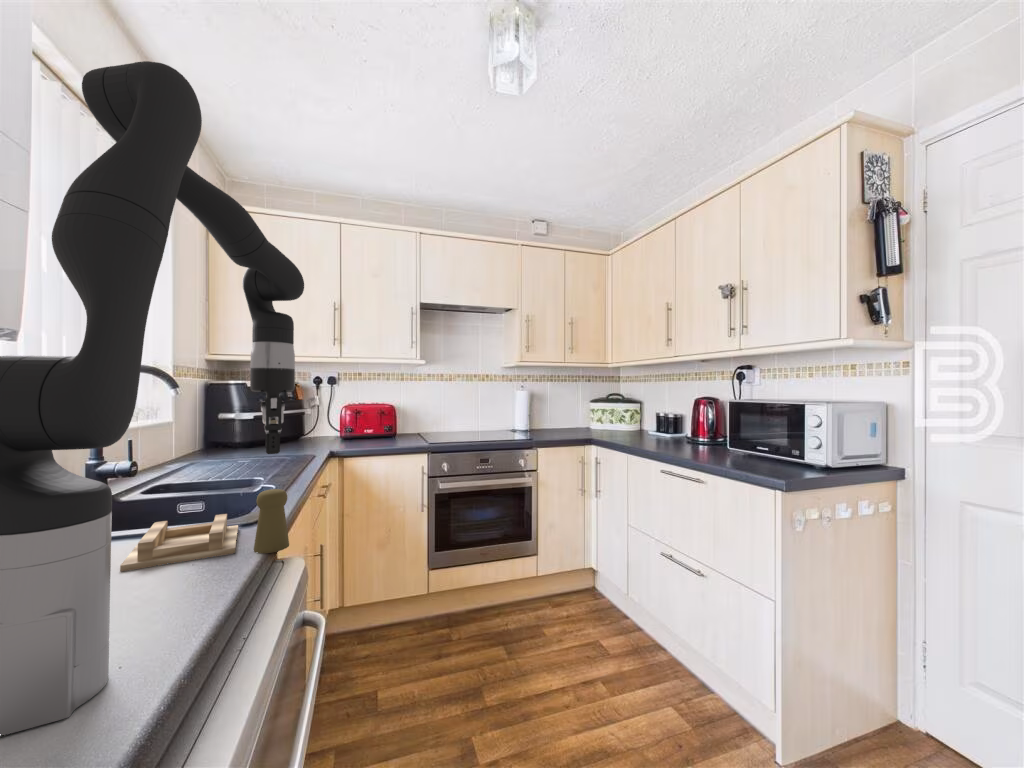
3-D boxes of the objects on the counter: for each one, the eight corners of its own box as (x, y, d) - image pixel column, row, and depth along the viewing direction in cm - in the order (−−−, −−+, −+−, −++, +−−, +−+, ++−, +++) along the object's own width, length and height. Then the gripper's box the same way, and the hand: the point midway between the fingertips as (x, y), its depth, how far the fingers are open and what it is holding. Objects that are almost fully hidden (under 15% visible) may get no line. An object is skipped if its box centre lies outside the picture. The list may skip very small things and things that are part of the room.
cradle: (234, 553, 80) (234, 531, 80) (120, 571, 71) (120, 547, 72) (238, 529, 93) (238, 511, 93) (142, 542, 85) (143, 522, 85)
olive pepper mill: (259, 543, 85) (260, 487, 85) (292, 540, 86) (293, 485, 86) (248, 554, 79) (249, 494, 79) (284, 551, 80) (285, 492, 81)
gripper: (297, 365, 79) (296, 454, 79) (292, 369, 91) (291, 445, 91) (249, 364, 75) (248, 457, 75) (251, 368, 87) (250, 448, 87)
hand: (272, 450), depth 83 cm, fingers open, 8 cm apart
